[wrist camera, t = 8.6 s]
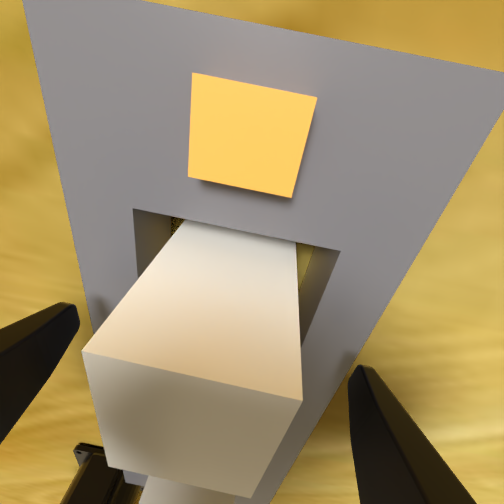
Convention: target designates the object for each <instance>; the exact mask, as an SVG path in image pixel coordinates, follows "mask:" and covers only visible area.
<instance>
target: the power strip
mask: <svg viewBox="0 0 504 504" xmlns="http://www.w3.org/2000/svg"><path fill="white" fill-rule="evenodd" d="M22 1H23V6H24V10H25V15H26V20H27V24H28V29H29V34H30V38H31V43H32V48H33V52H34V57H35V62H36V67H37V71H38V76H39V81H40V85H41V90H42V95H43V99H44V104H45V109H46V113H47V118H48V123H49V127H50V132H51V137H52V141H53V146H54V151H55V155H56V160H57V165H58V169H59V174H60V179H61V183H62V188H63V193H64V197H65V202H66V207H67V211H68V216H69V221H70V226H71V230H72V235H73V240H74V244H75V249H76V254H77V258H78V263H79V268H80V272H81V277H82V282H83V286H84V291H85V296H86V300H87V305H88V310H89V314H90V319H91V324H92V328H93V333H94V334H95V333H96V332H97V330H98V329H99V328H100V327H101V325H102V324H103V323H104V322H105V320H106V319H107V318H108V317H109V315H110V314H111V313H112V311H113V310H114V309H115V308H116V306H117V305H118V304H119V303H120V301H121V300H122V299H123V298H124V296H125V295H126V294H127V292H128V291H129V290H130V289H131V287H132V286H133V285H134V284H135V282H136V281H137V280H138V279H139V277H140V276H141V275H142V274H143V272H144V271H145V270H146V268H147V267H148V266H149V265H150V263H151V262H152V261H153V260H154V258H155V257H156V256H157V255H158V253H159V252H160V251H161V250H162V248H163V247H164V246H165V244H166V243H167V242H168V241H169V239H170V238H171V216H173V217H178V218H183V219H188V220H193V221H198V222H202V223H207V224H212V225H217V226H222V227H227V228H232V229H236V230H241V231H246V232H251V233H256V234H261V235H265V236H270V237H275V238H280V239H285V240H290V241H295V242H299V243H304V244H309V245H314V246H315V248H314V251H313V254H312V257H311V260H310V263H309V266H308V268H307V271H306V274H305V277H304V280H303V283H302V286H301V289H300V292H299V295H298V304H299V326H300V348H301V371H302V393H303V402H302V403H301V405H300V407H299V409H298V411H297V413H296V415H295V417H294V418H293V420H292V422H291V424H290V426H289V428H288V430H287V431H286V433H285V435H284V437H283V439H282V441H281V443H280V445H279V446H278V448H277V450H276V452H275V454H274V456H273V458H272V459H271V461H270V463H269V465H268V467H267V469H266V471H265V472H264V474H263V476H262V478H261V480H260V482H259V484H258V486H257V487H256V489H255V491H254V493H253V495H252V497H251V499H250V498H246V497H242V496H237V495H233V494H228V493H224V492H219V491H215V490H211V489H206V488H202V487H197V486H193V485H188V484H184V483H179V482H175V481H171V480H166V479H162V478H157V477H153V476H148V475H144V474H140V473H135V472H131V471H126V470H123V473H124V478H125V482H126V483H131V484H135V485H140V486H145V487H144V490H143V492H142V495H141V498H140V501H139V504H270V502H271V500H272V498H273V497H274V495H275V493H276V492H277V490H278V488H279V487H280V485H281V483H282V482H283V480H284V478H285V477H286V475H287V473H288V472H289V470H290V468H291V467H292V465H293V463H294V461H295V460H296V458H297V456H298V455H299V453H300V451H301V450H302V448H303V446H304V445H305V443H306V441H307V440H308V438H309V436H310V435H311V433H312V431H313V430H314V428H315V426H316V424H317V423H318V421H319V419H320V418H321V416H322V414H323V413H324V411H325V409H326V408H327V406H328V404H329V403H330V401H331V399H332V398H333V396H334V394H335V392H336V391H337V389H338V387H339V386H340V384H341V382H342V381H343V379H344V377H345V376H346V374H347V372H348V371H349V369H350V367H351V366H352V364H353V362H354V361H355V359H356V357H357V355H358V354H359V352H360V350H361V349H362V347H363V345H364V344H365V342H366V340H367V339H368V337H369V335H370V334H371V332H372V330H373V329H374V327H375V325H376V324H377V322H378V320H379V318H380V317H381V315H382V313H383V312H384V310H385V308H386V307H387V305H388V303H389V302H390V300H391V298H392V297H393V295H394V293H395V292H396V290H397V288H398V286H399V285H400V283H401V281H402V280H403V278H404V276H405V275H406V273H407V271H408V270H409V268H410V266H411V265H412V263H413V261H414V260H415V258H416V256H417V255H418V253H419V251H420V249H421V248H422V246H423V244H424V243H425V241H426V239H427V238H428V236H429V234H430V233H431V231H432V229H433V228H434V226H435V224H436V223H437V221H438V219H439V218H440V216H441V214H442V212H443V211H444V209H445V207H446V206H447V204H448V202H449V201H450V199H451V197H452V196H453V194H454V192H455V191H456V189H457V187H458V186H459V184H460V182H461V181H462V179H463V177H464V175H465V174H466V172H467V170H468V169H469V167H470V165H471V164H472V162H473V160H474V159H475V157H476V155H477V154H478V152H479V150H480V149H481V147H482V145H483V143H484V142H485V140H486V138H487V137H488V135H489V133H490V132H491V130H492V128H493V127H494V125H495V123H496V122H497V120H498V118H499V117H500V115H501V113H502V112H503V110H504V72H499V71H494V70H489V69H484V68H479V67H474V66H469V65H464V64H459V63H454V62H449V61H444V60H439V59H434V58H429V57H424V56H419V55H413V54H408V53H403V52H398V51H393V50H388V49H383V48H378V47H373V46H368V45H363V44H358V43H353V42H348V41H343V40H338V39H333V38H328V37H323V36H318V35H313V34H308V33H303V32H298V31H293V30H288V29H283V28H278V27H272V26H267V25H262V24H257V23H252V22H247V21H242V20H237V19H232V18H227V17H222V16H217V15H212V14H207V13H202V12H197V11H192V10H187V9H182V8H177V7H172V6H167V5H162V4H157V3H152V2H147V1H142V0H22Z"/></svg>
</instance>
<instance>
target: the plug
mask: <svg viewBox="0 0 504 504" xmlns="http://www.w3.org/2000/svg"><path fill="white" fill-rule="evenodd" d="M81 352H82V356H83V360H84V365H85V369H86V373H87V378H88V382H89V386H90V390H91V395H92V399H93V403H94V407H95V412H96V416H97V420H98V425H99V429H100V433H101V437H102V442H103V446H104V450H105V455H106V459H107V463H108V467H113V468H117V469H122V470H126V471H131V472H135V473H140V474H144V475H148V476H153V477H157V478H162V479H166V480H171V481H175V482H179V483H184V484H188V485H193V486H197V487H202V488H206V489H211V490H215V491H219V492H224V493H228V494H233V495H237V496H242V497H246V498H250V499H251V497H252V495H253V493H254V491H255V489H256V487H257V486H258V484H259V482H260V480H261V478H262V476H263V474H264V472H265V471H266V469H267V467H268V465H269V463H270V461H271V459H272V458H273V456H274V454H275V452H276V450H277V448H278V446H279V445H280V443H281V441H282V439H283V437H284V435H285V433H286V431H287V430H288V428H289V426H290V424H291V422H292V420H293V418H294V417H295V415H296V413H297V411H298V409H299V407H300V405H301V403H302V402H303V393H302V371H301V348H300V326H299V304H298V282H297V260H296V242H295V241H290V240H285V239H280V238H275V237H270V236H265V235H261V234H256V233H251V232H246V231H241V230H236V229H232V228H227V227H222V226H217V225H212V224H207V223H202V222H198V221H193V220H188V219H185V220H184V222H183V223H182V224H181V226H180V227H179V228H178V229H177V231H176V232H175V233H174V234H173V236H172V237H171V238H170V239H169V241H168V242H167V243H166V244H165V246H164V247H163V248H162V250H161V251H160V252H159V253H158V255H157V256H156V257H155V258H154V260H153V261H152V262H151V263H150V265H149V266H148V267H147V268H146V270H145V271H144V272H143V274H142V275H141V276H140V277H139V279H138V280H137V281H136V282H135V284H134V285H133V286H132V287H131V289H130V290H129V291H128V292H127V294H126V295H125V296H124V298H123V299H122V300H121V301H120V303H119V304H118V305H117V306H116V308H115V309H114V310H113V311H112V313H111V314H110V315H109V317H108V318H107V319H106V320H105V322H104V323H103V324H102V325H101V327H100V328H99V329H98V330H97V332H96V333H95V334H94V335H93V337H92V338H91V339H90V341H89V342H88V343H87V344H86V346H85V347H84V348H83V349H82V351H81Z"/></svg>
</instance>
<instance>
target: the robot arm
mask: <svg viewBox="0 0 504 504" xmlns="http://www.w3.org/2000/svg"><path fill="white" fill-rule="evenodd" d="M79 326H80V320H79V316H78V312H77V308H76V306H75V305H74V304H71V303H66V302H59V303H57V304H55V305H52V306H50V307H48V308H46V309H44V310H41V311H39V312H37V313H35V314H33V315H30V316H28V317H26V318H24V319H22V320H19V321H17V322H15V323H13V324H11V325H8V326H6V327H4V328H2V329H0V444H1V443H2V441H3V440H4V439H5V437H6V436H7V435H8V433H9V432H10V430H11V429H12V428H13V426H14V425H15V424H16V422H17V421H18V420H19V418H20V417H21V415H22V414H23V413H24V411H25V410H26V409H27V407H28V406H29V405H30V403H31V402H32V400H33V399H34V398H35V396H36V395H37V394H38V392H39V391H40V390H41V388H42V387H43V385H44V384H45V383H46V381H47V380H48V378H49V377H50V376H51V374H52V373H53V371H54V369H55V368H56V366H57V364H58V363H59V361H60V359H61V358H62V356H63V354H64V353H65V351H66V349H67V348H68V346H69V344H70V343H71V341H72V339H73V338H74V336H75V334H76V333H77V331H78V329H79ZM348 401H349V421H350V437H351V446H352V453H353V459H354V466H355V472H356V479H357V485H358V492H359V498H360V504H477V503H476V502H475V500H474V499H473V498H472V496H471V495H470V494H469V493H468V491H467V490H466V489H465V487H464V486H463V485H462V483H461V482H460V481H459V479H458V478H457V477H456V476H455V474H454V473H453V472H452V470H451V469H450V468H449V466H448V465H447V464H446V462H445V461H444V460H443V459H442V457H441V456H440V455H439V453H438V452H437V451H436V449H435V448H434V447H433V445H432V444H431V443H430V442H429V440H428V439H427V438H426V436H425V435H424V434H423V432H422V431H421V430H420V428H419V427H418V426H417V425H416V423H415V422H414V421H413V419H412V418H411V417H410V415H409V414H408V413H407V411H406V410H405V409H404V408H403V406H402V405H401V404H400V402H399V401H398V400H397V398H396V397H395V396H394V394H393V393H392V392H391V390H390V389H389V388H388V387H387V385H386V384H385V383H384V381H383V380H382V379H381V377H380V376H379V375H378V373H377V372H376V371H375V370H374V369H373V368H372V367H370V366H365V365H358V366H357V367H356V369H355V370H354V372H353V374H352V375H351V377H350V379H349V381H348ZM73 452H74V454H75V457H76V459H77V461H78V464H79V466H80V468H79V470H78V472H77V474H76V475H75V477H74V479H73V481H72V483H71V484H70V486H69V488H68V490H67V492H66V494H65V495H64V497H63V499H62V501H61V503H60V504H135V501H136V499H137V496H138V493H139V491H140V490H141V491H143V490H144V487H145V486H140V485H135V484H131V483H126V482H125V478H124V473H123V470H122V469H117V468H113V467H108V463H107V459H106V455H105V450H103V449H98V448H93V447H89V446H84V445H76V447H75V449H74V450H73Z"/></svg>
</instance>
